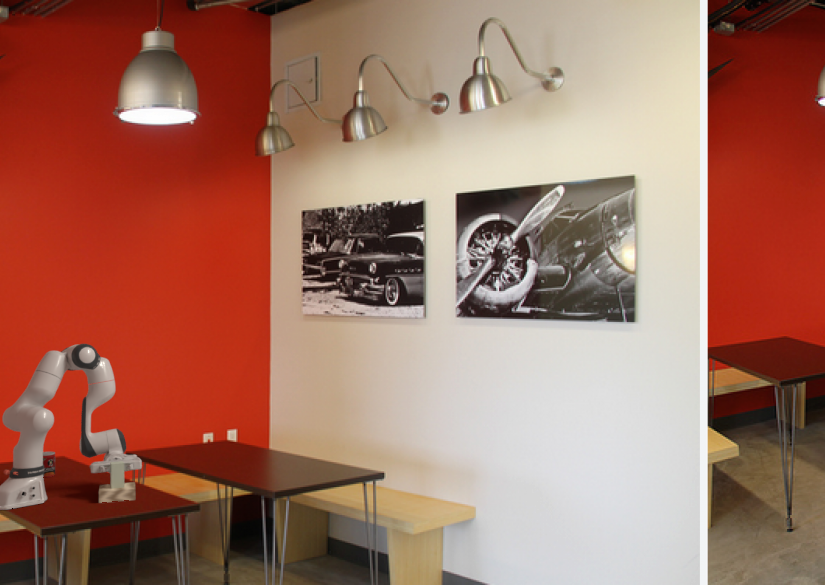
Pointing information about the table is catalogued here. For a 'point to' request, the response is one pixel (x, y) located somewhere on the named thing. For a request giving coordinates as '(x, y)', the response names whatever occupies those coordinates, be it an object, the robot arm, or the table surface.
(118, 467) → the sage block
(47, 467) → the canned food
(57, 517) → the table surface
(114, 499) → the birch slab
